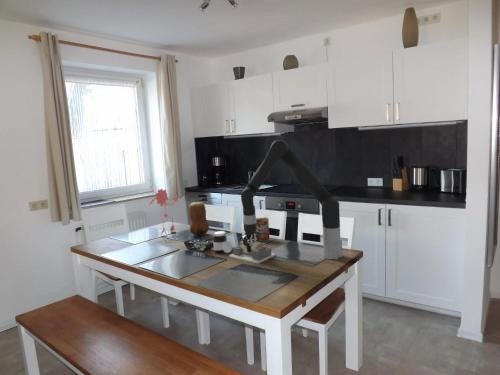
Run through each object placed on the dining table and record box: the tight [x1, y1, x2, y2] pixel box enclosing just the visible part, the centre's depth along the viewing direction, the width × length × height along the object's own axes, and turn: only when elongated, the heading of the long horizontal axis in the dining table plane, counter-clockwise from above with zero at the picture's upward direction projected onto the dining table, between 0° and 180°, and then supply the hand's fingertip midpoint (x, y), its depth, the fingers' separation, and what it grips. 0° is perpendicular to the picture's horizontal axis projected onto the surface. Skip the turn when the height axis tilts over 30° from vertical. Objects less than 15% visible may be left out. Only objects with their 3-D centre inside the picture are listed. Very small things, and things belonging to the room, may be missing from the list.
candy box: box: [256, 216, 270, 242], centre depth 236 cm, size 9×4×15 cm, turn 98°
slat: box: [239, 240, 264, 254], centre depth 206 cm, size 14×4×6 cm, turn 54°
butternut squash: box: [188, 201, 210, 237], centre depth 259 cm, size 14×13×25 cm
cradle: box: [228, 244, 276, 265], centre depth 207 cm, size 22×16×5 cm
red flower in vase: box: [148, 188, 182, 236], centre depth 270 cm, size 15×26×35 cm, turn 147°
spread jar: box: [212, 230, 233, 254], centre depth 219 cm, size 12×11×12 cm
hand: (251, 250), depth 206 cm, fingers closed on slat, 4 cm apart
